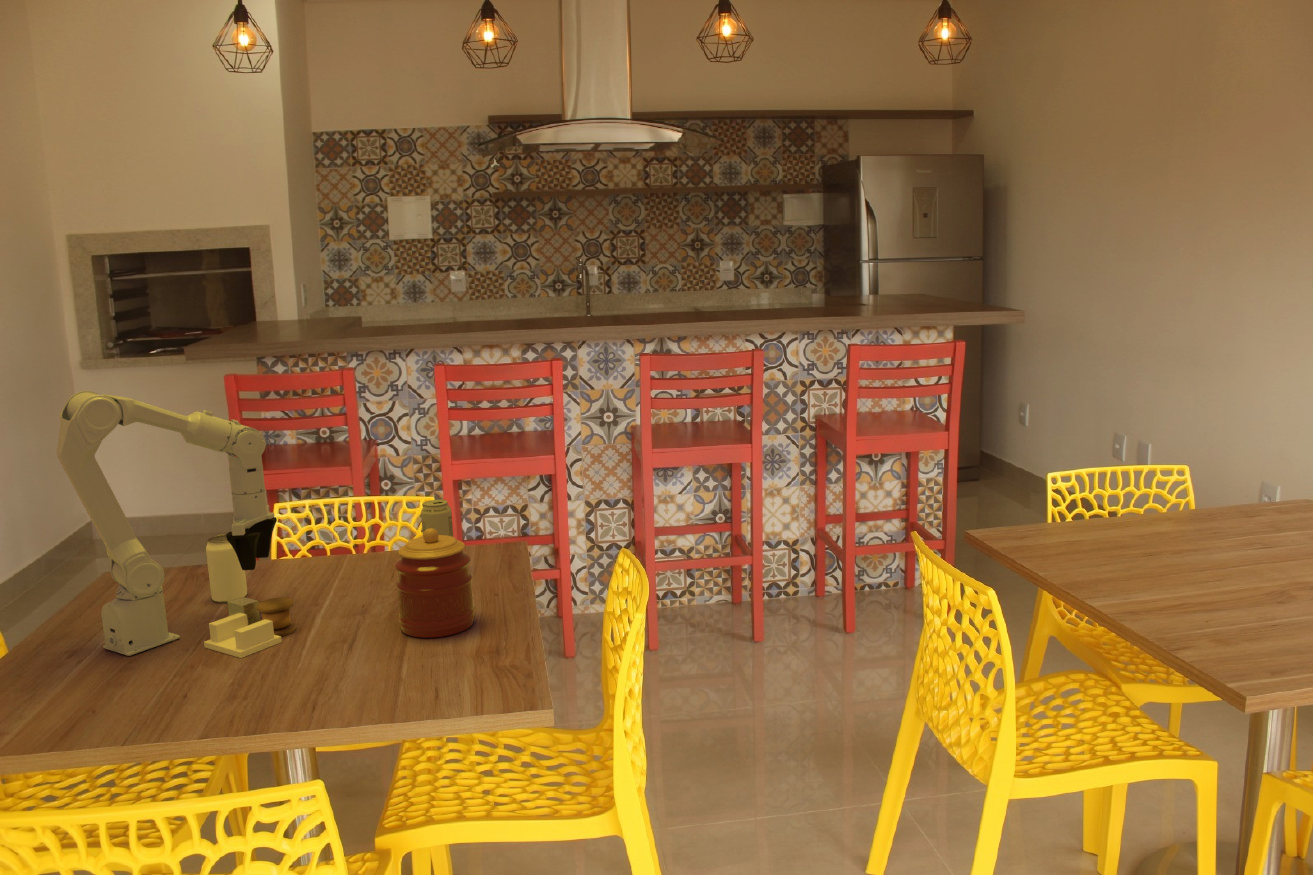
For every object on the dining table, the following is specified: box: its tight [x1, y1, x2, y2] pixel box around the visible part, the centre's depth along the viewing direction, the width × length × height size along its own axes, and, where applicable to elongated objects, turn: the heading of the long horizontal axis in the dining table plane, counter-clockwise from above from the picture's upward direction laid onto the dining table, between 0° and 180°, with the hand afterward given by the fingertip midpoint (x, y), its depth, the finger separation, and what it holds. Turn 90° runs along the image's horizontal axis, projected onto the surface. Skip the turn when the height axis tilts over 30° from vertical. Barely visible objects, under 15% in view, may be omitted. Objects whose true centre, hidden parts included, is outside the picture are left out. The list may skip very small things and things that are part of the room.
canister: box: [394, 528, 476, 639], centre depth 183 cm, size 13×13×18 cm
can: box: [205, 533, 248, 604], centre depth 204 cm, size 6×6×12 cm
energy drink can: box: [420, 499, 454, 537], centre depth 213 cm, size 6×6×15 cm
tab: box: [227, 596, 261, 625], centre depth 187 cm, size 3×4×5 cm, turn 57°
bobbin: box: [257, 597, 297, 638], centre depth 185 cm, size 6×6×5 cm
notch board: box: [203, 613, 282, 659], centre depth 179 cm, size 8×10×4 cm
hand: (255, 563), depth 193 cm, fingers open, 7 cm apart
